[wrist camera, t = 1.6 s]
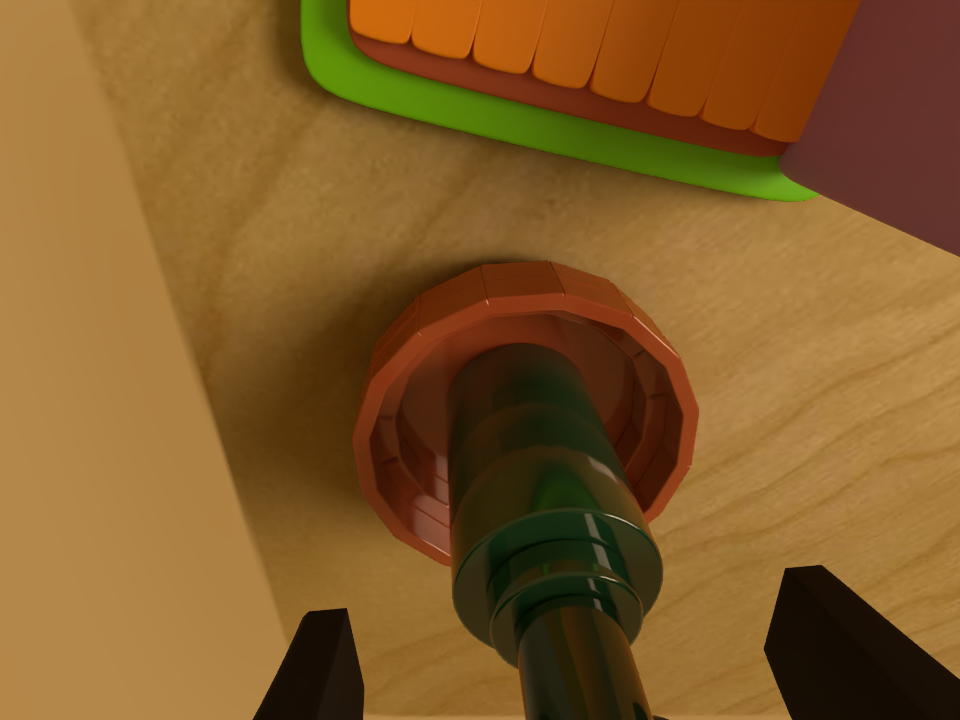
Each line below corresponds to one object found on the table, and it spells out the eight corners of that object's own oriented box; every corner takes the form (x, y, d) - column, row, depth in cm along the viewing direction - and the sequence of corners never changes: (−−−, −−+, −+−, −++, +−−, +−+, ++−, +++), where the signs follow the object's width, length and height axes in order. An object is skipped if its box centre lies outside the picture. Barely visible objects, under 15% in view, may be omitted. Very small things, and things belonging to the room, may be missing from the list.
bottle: (586, 459, 17) (717, 826, 9) (450, 470, 17) (467, 852, 9) (591, 337, 15) (759, 666, 8) (439, 348, 15) (449, 696, 7)
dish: (649, 498, 19) (678, 561, 17) (384, 521, 19) (377, 588, 16) (677, 243, 15) (719, 281, 13) (342, 266, 15) (327, 310, 12)
